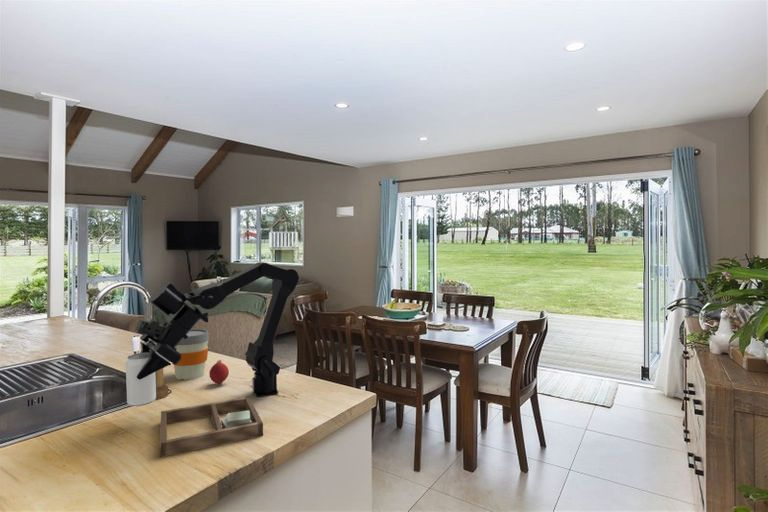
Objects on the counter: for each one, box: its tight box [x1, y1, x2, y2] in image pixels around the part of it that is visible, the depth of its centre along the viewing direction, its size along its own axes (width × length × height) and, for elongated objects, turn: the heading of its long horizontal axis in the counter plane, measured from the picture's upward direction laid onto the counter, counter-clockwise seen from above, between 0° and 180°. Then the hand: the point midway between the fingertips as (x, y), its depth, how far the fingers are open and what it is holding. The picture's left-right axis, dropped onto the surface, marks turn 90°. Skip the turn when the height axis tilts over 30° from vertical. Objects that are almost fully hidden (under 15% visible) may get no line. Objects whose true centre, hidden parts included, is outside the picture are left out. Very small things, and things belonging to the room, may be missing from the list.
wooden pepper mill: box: [155, 368, 169, 400], centre depth 127 cm, size 7×6×18 cm
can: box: [125, 352, 157, 407], centre depth 108 cm, size 6×6×12 cm
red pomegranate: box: [208, 359, 229, 385], centre depth 137 cm, size 6×6×8 cm
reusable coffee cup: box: [171, 328, 210, 381], centre depth 146 cm, size 13×13×15 cm
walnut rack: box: [159, 396, 264, 458], centre depth 106 cm, size 22×19×3 cm
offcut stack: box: [220, 410, 252, 429], centre depth 104 cm, size 7×6×4 cm
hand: (134, 375), depth 107 cm, fingers closed on can, 6 cm apart
